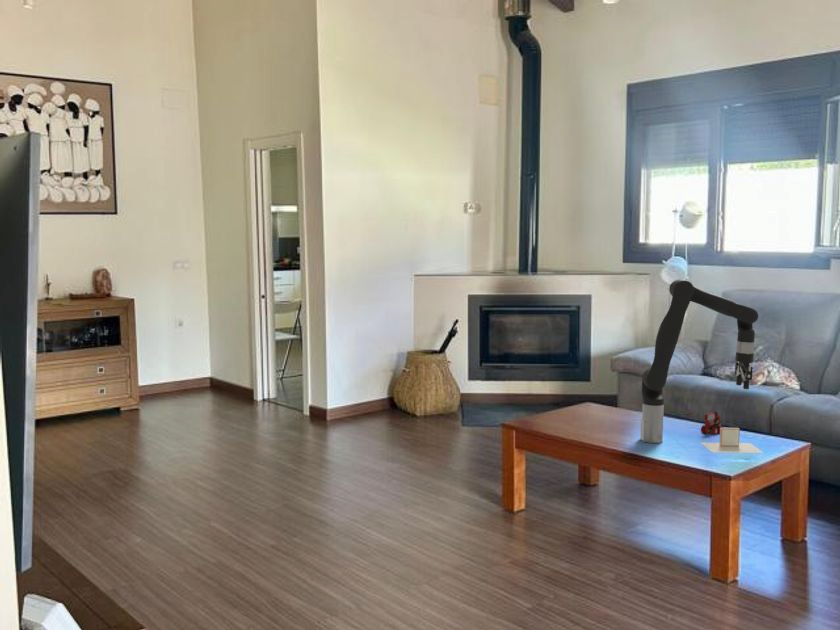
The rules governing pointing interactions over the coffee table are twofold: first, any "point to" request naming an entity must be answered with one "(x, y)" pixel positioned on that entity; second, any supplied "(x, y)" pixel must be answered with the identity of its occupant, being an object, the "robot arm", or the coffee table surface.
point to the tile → (729, 436)
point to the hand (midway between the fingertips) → (742, 387)
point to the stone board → (732, 448)
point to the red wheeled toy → (711, 424)
